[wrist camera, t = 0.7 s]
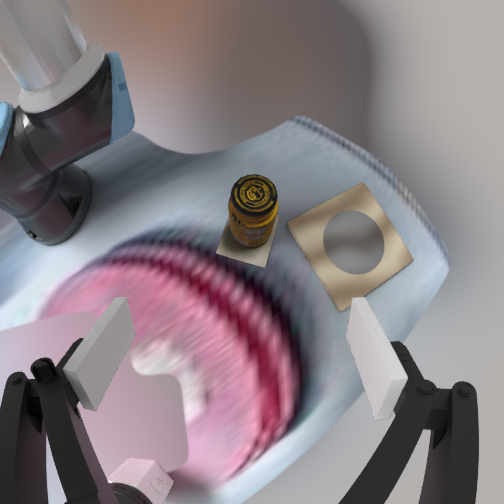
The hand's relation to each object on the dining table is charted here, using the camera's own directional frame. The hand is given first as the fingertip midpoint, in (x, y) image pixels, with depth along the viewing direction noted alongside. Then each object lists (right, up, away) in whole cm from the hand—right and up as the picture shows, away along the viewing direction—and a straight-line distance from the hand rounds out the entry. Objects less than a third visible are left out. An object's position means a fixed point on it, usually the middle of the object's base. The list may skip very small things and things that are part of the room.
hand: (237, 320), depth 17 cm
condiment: (0, +6, +28) cm, 29 cm away
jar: (-15, -31, +17) cm, 39 cm away
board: (+16, +5, +28) cm, 32 cm away
